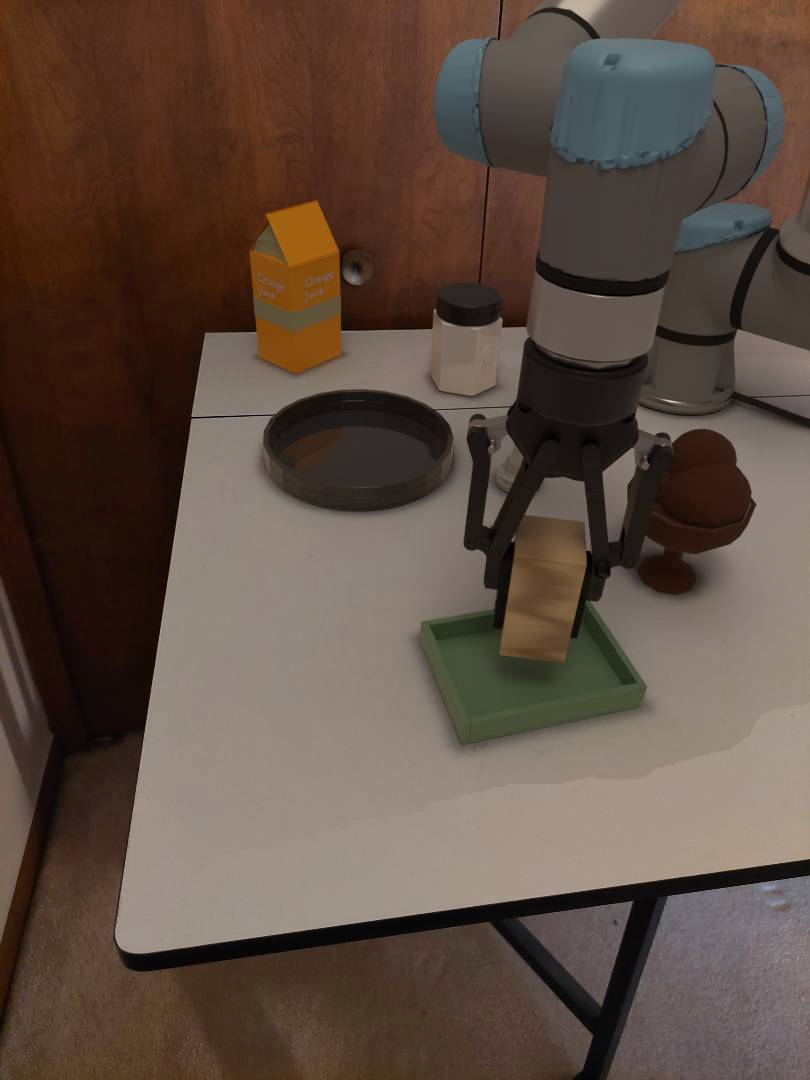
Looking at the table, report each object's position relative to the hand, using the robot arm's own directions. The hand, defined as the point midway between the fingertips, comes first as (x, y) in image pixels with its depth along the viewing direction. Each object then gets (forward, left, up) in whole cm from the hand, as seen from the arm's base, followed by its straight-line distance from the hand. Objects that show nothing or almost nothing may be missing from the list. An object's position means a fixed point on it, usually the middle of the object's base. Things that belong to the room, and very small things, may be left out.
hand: (535, 620), depth 63 cm
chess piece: (+2, -28, -6) cm, 29 cm away
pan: (+20, -30, -6) cm, 37 cm away
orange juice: (+33, -54, -6) cm, 64 cm away
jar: (+10, -51, -6) cm, 52 cm away
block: (0, 0, -2) cm, 2 cm away
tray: (0, 0, -6) cm, 6 cm away
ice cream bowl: (-13, -15, -6) cm, 21 cm away
